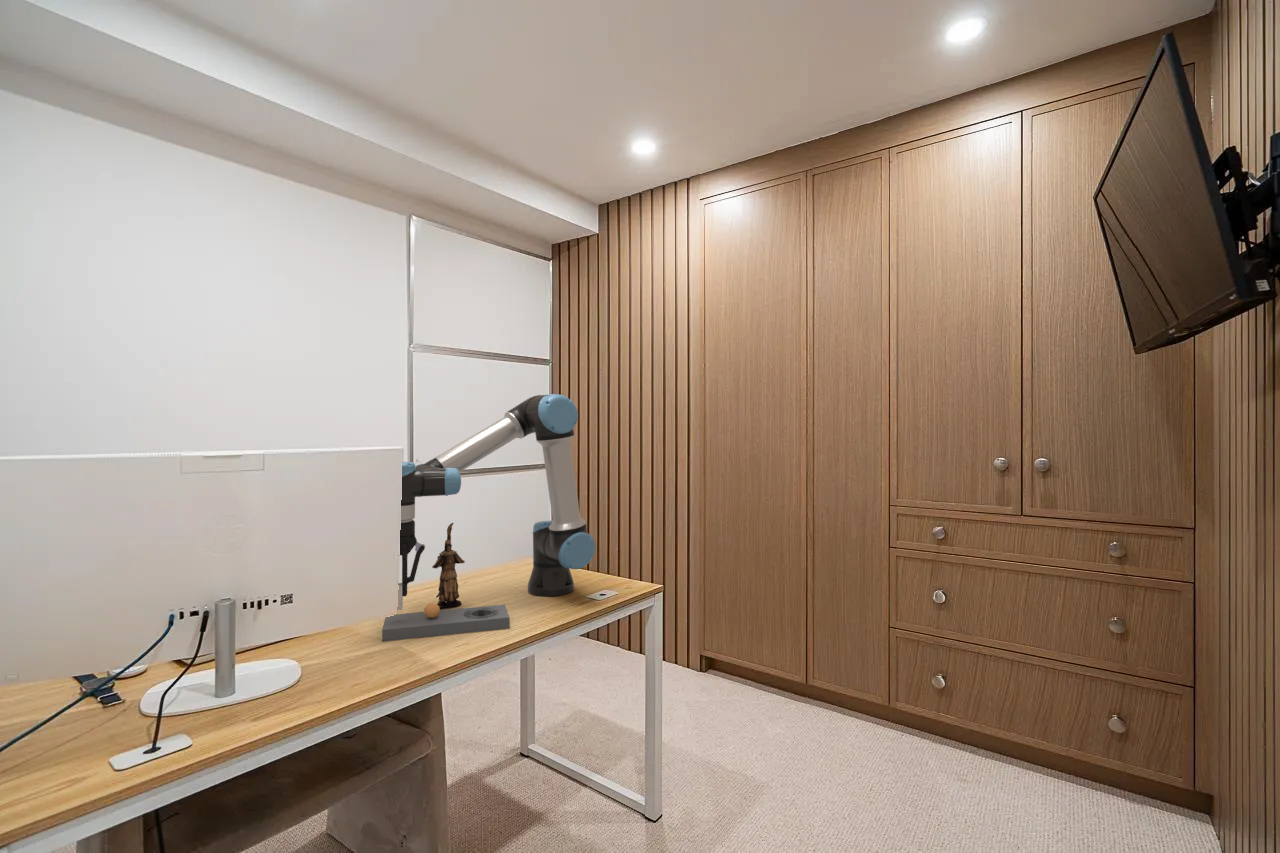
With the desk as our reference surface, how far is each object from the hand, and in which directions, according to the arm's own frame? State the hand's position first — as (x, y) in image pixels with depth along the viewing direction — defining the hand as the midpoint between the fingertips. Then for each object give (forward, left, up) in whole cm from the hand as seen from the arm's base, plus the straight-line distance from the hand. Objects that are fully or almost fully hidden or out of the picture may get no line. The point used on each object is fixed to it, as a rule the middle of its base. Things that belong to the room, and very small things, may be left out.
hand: (399, 608), depth 163 cm
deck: (-12, 0, -6) cm, 14 cm away
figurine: (-12, -19, -7) cm, 24 cm away
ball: (-8, 0, -1) cm, 8 cm away
